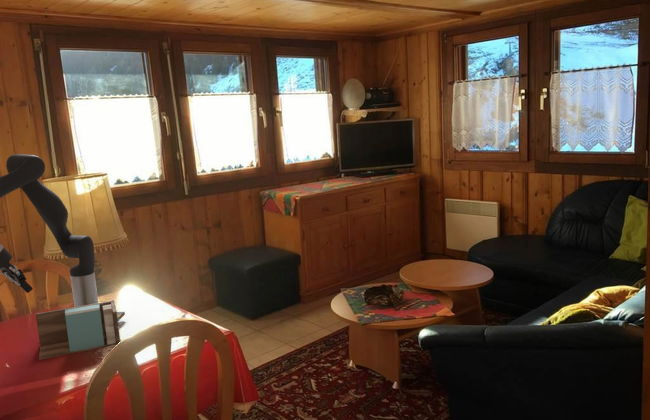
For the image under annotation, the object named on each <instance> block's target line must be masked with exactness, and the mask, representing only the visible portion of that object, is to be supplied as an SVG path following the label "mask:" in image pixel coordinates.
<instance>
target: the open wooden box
mask: <svg viewBox="0 0 650 420" xmlns="http://www.w3.org/2000/svg"><path fill="white" fill-rule="evenodd" d="M97 304H99V307H100V314H101V322H102V330H103V338H104V346H98V347H93V348H88V349H83V350H78V351H73V352H70V347H69V339H68V332H67V325H66V318H65V310H68V309H73V308H79V307H85V306H91V305H97ZM117 312H118V310H117V307H116V303H115V300H114V299H113V300H108V301H102V302H98V303H95V304H89V305H83V306H77V307H74V306H72V307H67V308H61V309H60V308H59V309H55V310H49V311H43V312H37V313H35V318H36V319H35V321H36V326H37V327H36V328H37V333H38V339H39V346H40V347H39V348H40V349H39V355H38V360H39V361H40V360H44V359H46V360H47V359H50V358H51V359H52V358H55V357H60V356H65V355H69V354H70V355H71V354H74V353H80V352H85V351H90V350H91V351H92V350H95V349H99V348H106V347H110V346H116V345H119V344H118V343H119V342H120V343H121V339H120V338H121V336H120V330H119V321H118V319H117Z"/></svg>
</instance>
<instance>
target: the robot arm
mask: <svg viewBox="0 0 650 420" xmlns="http://www.w3.org/2000/svg"><path fill="white" fill-rule="evenodd" d="M5 166H6V170H7V174H4V175H2V176H0V199H1V198H3V197H4V196H6V195H8V194H10V193H12V192H14V191H16V190H18V189H21V190H22V192H23V193H24V194H25V195H26V197H27V198H28V200H29V201H30V203H31V204H32V205H33V206H34V208H35V210H36V212H37V213H38V214H39V216H40V217H41V220H43V222H44V223H45V224H46V226H47V227H48V229H49V230H50V232H51V233H52V235H53V237H54V239H55V241H56V242H57V245H58V247H59V249H60V251H61V252H62V253H63V255H64V256H65V257H67V258H70V259H71V258H72V259H78V264H76V265H74V266H71V267H70V269H69V278H70V283H71V290H72V291H71V292H72V299H73V304H74V305H73V307H77V306H83V305H89V304H95V303H99V298H98V297H99V296H98V291H97V282H96V274H95V263H96V261H95V259H96V258H95V248H94V247H95V246H94V242H93V239H92V237H91V236H89V235H75V234H72V233H71V232H70V230H69V228H68V227H67V223H68V217H69V212H68V209H67V207H66V206H65V204H64V202H63V200H62V199H61V198H60V196H59V195H57V194H56V193H55V192H54V191H53V190H52V189H50V188H49V187H47V186H46V185H44V184H43V182H41V181H40V180H39V179H40V178H42V177H43V175H45V174H44V173H45V171H46V163H45V162H44V160H43V158H41V157H40V156H38V155H34V154H23V153H14V154H11V155H9V157H8V158H7V160H6V165H5ZM12 258H13V255H12V254H11V253H10V252H9V251H8V249H6V248H5V247H4V246H3V245H2V243H0V274H1V276H3V277H5V278H6V279H7V280H8V281H10V282H11V283H12V284H13V285H16V286H19V287H20V288H21V289H22V291H24V292H25V293H30V292H32V290H33V289H34V288H33V286H32V285H30V284H29V283H28V282H27V278H26V276H25V274H24V272H23V271H22V269H20V268H18V267H17V266H16V264H14V263H11V262H10V261H11V260H12Z"/></svg>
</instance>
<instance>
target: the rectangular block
mask: <svg viewBox="0 0 650 420" xmlns="http://www.w3.org/2000/svg"><path fill="white" fill-rule="evenodd" d="M65 318H66V325H67V332H68V339H69V347H70V352H73V351H78V350H83V349H88V348H93V347H98V346H104V338H103V330H102V322H101V314H100V307H99V304H97V305H91V306H85V307H79V308H73V309H68V310H65Z"/></svg>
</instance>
